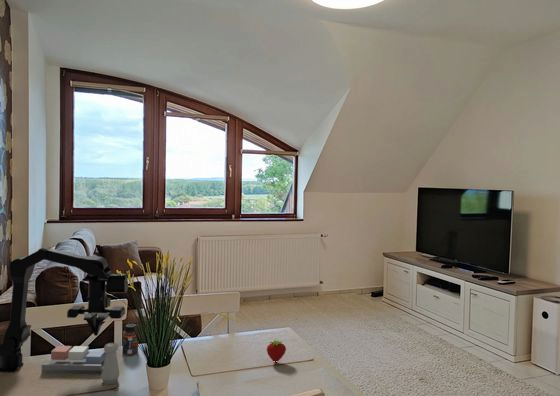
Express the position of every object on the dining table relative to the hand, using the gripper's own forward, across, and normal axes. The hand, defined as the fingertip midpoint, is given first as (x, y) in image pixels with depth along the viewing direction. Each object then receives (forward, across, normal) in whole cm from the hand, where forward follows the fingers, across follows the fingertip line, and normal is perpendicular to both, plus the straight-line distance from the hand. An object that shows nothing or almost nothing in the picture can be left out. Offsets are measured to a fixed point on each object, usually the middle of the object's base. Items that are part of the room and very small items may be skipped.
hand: (96, 335), depth 154 cm
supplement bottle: (+12, -9, -12) cm, 19 cm away
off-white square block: (+8, +6, 0) cm, 10 cm away
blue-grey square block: (+10, 0, 0) cm, 10 cm away
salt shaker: (+12, -9, +11) cm, 18 cm away
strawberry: (+12, -66, -6) cm, 67 cm away
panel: (+12, +6, 0) cm, 13 cm away
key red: (+8, +12, 0) cm, 15 cm away
